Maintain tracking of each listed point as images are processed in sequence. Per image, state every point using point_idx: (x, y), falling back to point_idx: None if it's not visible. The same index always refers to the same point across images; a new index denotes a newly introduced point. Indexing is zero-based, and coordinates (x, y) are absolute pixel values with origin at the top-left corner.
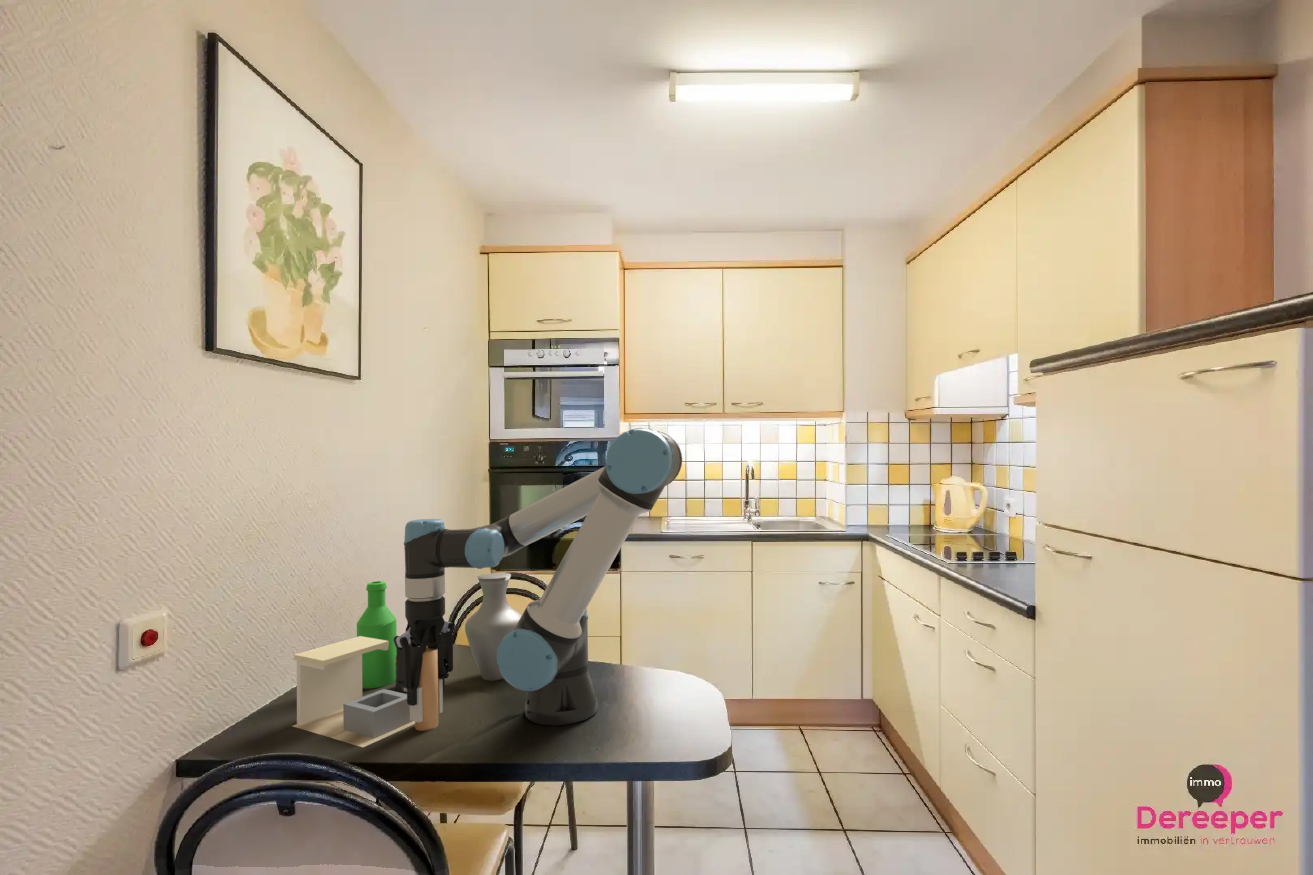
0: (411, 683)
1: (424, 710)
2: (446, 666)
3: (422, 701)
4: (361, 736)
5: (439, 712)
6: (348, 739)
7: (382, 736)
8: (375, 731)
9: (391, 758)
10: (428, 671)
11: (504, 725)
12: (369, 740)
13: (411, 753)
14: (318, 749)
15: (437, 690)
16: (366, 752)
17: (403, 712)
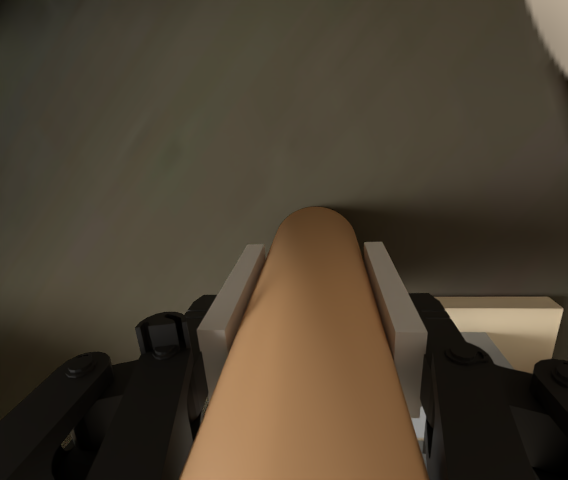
0: (504, 392)
1: (357, 258)
2: (91, 412)
3: (369, 286)
4: None
5: (263, 248)
6: None
7: (459, 321)
8: (491, 346)
9: (548, 174)
10: (363, 400)
11: (103, 2)
12: (503, 334)
13: (484, 140)
14: None
15: (271, 282)
16: (533, 296)
17: None
